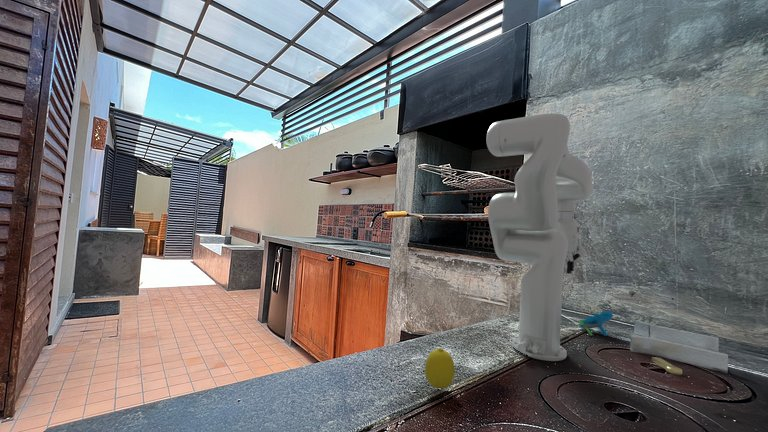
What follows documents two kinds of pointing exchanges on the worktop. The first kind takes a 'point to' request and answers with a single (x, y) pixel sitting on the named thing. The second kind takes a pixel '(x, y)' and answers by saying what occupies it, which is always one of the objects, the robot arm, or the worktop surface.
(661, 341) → the channel
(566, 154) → the robot arm
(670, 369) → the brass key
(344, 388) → the worktop surface
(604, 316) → the blue green toy animal
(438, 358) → the lemon
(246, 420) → the worktop surface
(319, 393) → the worktop surface
